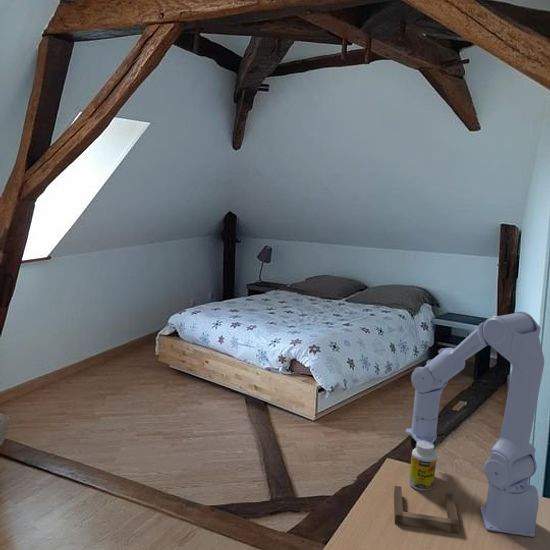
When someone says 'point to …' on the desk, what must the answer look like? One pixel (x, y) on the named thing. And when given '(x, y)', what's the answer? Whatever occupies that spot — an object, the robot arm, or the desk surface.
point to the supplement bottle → (423, 466)
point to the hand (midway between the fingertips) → (419, 467)
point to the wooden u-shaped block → (425, 520)
